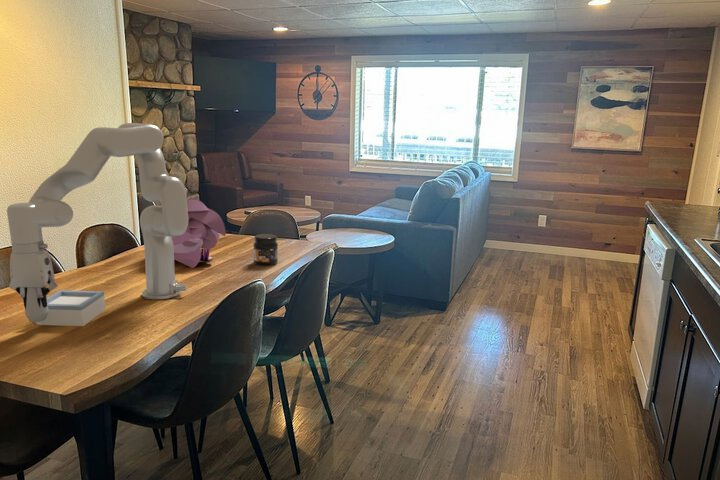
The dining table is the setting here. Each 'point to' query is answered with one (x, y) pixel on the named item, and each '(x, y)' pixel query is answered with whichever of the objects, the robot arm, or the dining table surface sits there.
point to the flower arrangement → (198, 235)
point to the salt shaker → (35, 307)
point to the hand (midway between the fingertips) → (36, 308)
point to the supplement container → (265, 249)
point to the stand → (73, 307)
